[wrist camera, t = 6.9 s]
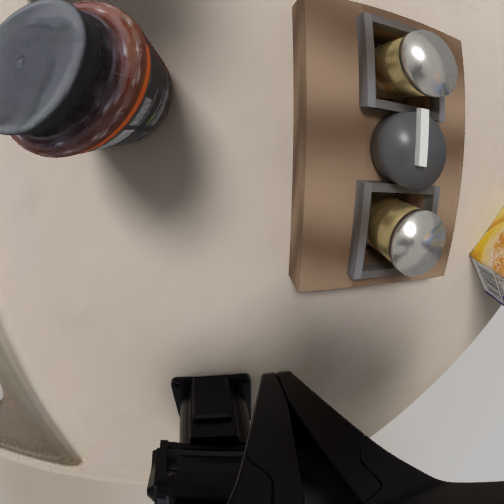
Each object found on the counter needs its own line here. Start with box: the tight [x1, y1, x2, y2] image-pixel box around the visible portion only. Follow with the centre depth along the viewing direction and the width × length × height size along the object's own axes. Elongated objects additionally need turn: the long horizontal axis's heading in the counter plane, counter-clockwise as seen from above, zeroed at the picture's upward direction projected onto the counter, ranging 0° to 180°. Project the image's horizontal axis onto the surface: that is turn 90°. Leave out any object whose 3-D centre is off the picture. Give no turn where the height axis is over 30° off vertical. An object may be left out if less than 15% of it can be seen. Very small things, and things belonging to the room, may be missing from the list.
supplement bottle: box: [0, 0, 172, 158], centre depth 10 cm, size 6×6×11 cm
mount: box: [289, 0, 465, 292], centre depth 17 cm, size 18×12×4 cm, turn 0°
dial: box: [371, 108, 446, 190], centre depth 15 cm, size 5×4×2 cm
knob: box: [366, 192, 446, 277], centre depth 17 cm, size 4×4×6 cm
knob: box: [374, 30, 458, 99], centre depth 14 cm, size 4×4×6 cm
